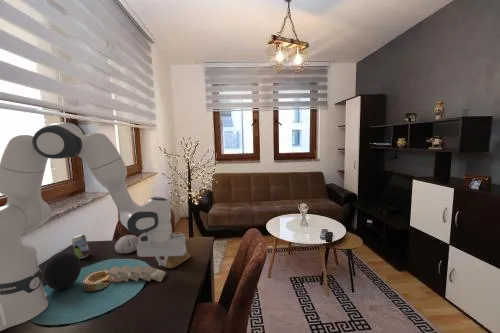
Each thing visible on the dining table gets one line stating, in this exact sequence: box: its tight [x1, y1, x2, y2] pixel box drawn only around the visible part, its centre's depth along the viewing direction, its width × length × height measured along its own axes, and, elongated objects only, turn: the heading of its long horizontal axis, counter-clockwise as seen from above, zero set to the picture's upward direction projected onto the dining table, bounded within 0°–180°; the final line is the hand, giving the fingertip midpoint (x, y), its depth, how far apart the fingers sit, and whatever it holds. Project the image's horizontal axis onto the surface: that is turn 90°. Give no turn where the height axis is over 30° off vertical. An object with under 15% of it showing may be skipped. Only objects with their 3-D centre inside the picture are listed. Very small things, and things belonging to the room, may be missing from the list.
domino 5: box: [141, 265, 167, 283], centre depth 106 cm, size 2×5×9 cm
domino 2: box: [112, 277, 123, 282], centre depth 107 cm, size 2×5×9 cm
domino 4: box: [130, 264, 152, 282], centre depth 106 cm, size 2×5×9 cm
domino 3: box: [117, 264, 140, 282], centre depth 106 cm, size 2×5×9 cm
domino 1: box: [106, 265, 130, 282], centre depth 106 cm, size 2×5×9 cm
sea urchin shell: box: [114, 234, 139, 255], centre depth 135 cm, size 13×14×8 cm
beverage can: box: [71, 233, 91, 260], centre depth 126 cm, size 6×7×12 cm
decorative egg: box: [42, 250, 82, 291], centre depth 100 cm, size 12×12×15 cm
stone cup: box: [162, 231, 192, 269], centre depth 119 cm, size 15×12×15 cm
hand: (162, 265), depth 105 cm, fingers closed
